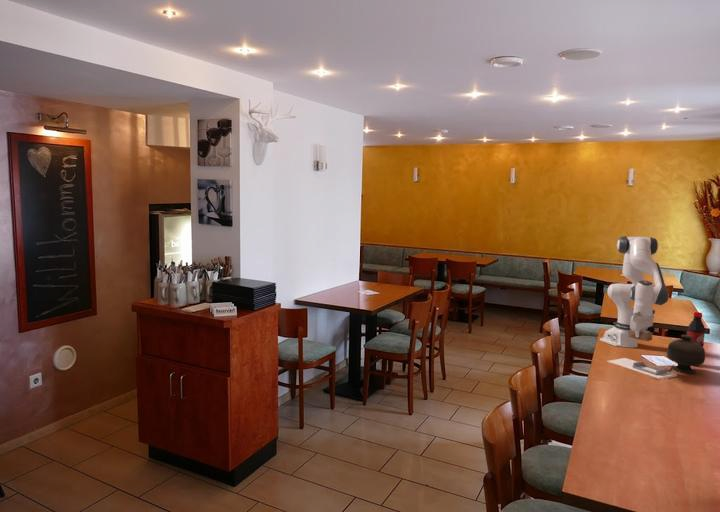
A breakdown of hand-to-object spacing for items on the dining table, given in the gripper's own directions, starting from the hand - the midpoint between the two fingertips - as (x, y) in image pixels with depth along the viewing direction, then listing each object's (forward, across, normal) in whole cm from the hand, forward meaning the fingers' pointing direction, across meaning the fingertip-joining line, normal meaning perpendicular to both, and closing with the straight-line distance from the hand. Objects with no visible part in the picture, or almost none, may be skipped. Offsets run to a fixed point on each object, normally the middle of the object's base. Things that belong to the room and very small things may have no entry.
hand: (640, 336), depth 286 cm
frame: (+1, 0, 0) cm, 1 cm away
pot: (+18, +19, -16) cm, 31 cm away
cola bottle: (+18, +36, -14) cm, 43 cm away
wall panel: (+18, 0, -2) cm, 18 cm away
